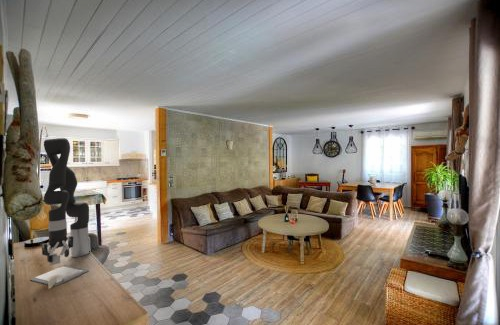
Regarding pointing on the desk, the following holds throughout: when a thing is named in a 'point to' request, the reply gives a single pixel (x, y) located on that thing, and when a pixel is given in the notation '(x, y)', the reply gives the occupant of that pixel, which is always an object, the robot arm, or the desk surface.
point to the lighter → (57, 257)
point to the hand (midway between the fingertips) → (58, 259)
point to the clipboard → (60, 275)
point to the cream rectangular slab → (52, 282)
